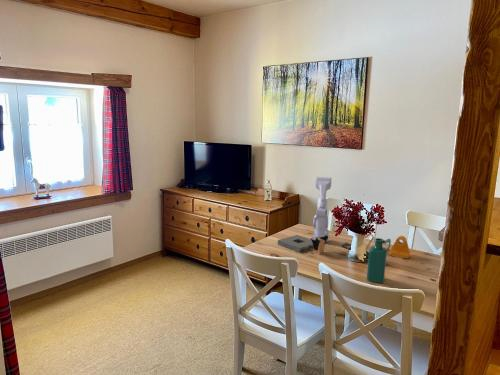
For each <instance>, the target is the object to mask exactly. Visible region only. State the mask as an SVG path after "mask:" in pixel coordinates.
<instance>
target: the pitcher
mask: <svg viewBox="0 0 500 375" xmlns="http://www.w3.org/2000/svg"><path fill="white" fill-rule="evenodd" d="M373 241H374V245H370V247H369V250H368V252H369V257H368V263H367V270H366V280H367V281H368V282H372V283H377V284H383V283H384V282H385V275H386V274H385V272H386V264H387V255H388V254H387V252H388V251H390V247H391V243H392V242H391V238H387V239H385V240H384V239H383V238H381V237H380V238H379V237H377V238H373ZM383 244H388V245H387V247H384V246H383Z"/></svg>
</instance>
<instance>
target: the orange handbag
mask: <svg viewBox="0 0 500 375" xmlns="http://www.w3.org/2000/svg"><path fill="white" fill-rule="evenodd" d="M400 240H401V241H402V242H401V241H400ZM388 251H389V255H390V256H393V258H396V257H397V258H396V259H401V258H403V259H408V258H409V257H410V255H411V251H410V248H409V244H408V240H407V238H406V236H404V235H399V236H397V238H396V240H395V241H394V243H393V245H392V247H391V249H389V250H388Z"/></svg>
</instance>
